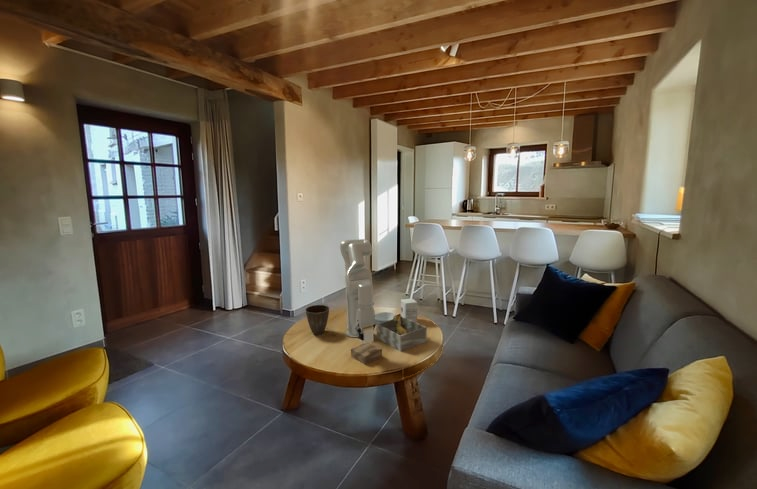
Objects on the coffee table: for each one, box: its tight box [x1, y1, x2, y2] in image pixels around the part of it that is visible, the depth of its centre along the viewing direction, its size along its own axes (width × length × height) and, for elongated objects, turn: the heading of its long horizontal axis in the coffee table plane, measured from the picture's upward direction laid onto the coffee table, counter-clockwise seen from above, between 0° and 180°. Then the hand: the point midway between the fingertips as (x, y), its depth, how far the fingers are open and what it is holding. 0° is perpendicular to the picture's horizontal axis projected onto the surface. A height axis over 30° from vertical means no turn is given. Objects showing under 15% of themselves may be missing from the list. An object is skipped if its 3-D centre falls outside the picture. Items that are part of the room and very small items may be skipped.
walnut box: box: [350, 342, 383, 366], centre depth 186 cm, size 12×12×5 cm
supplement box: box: [400, 297, 418, 323], centre depth 235 cm, size 9×9×15 cm
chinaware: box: [375, 311, 396, 324], centre depth 226 cm, size 15×15×8 cm
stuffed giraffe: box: [393, 313, 407, 335], centre depth 206 cm, size 16×18×16 cm
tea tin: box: [359, 326, 375, 344], centre depth 184 cm, size 6×6×8 cm
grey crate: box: [375, 317, 428, 352], centre depth 207 cm, size 23×21×9 cm
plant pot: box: [305, 304, 330, 335], centre depth 218 cm, size 15×15×16 cm
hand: (366, 338), depth 184 cm, fingers closed on tea tin, 5 cm apart
